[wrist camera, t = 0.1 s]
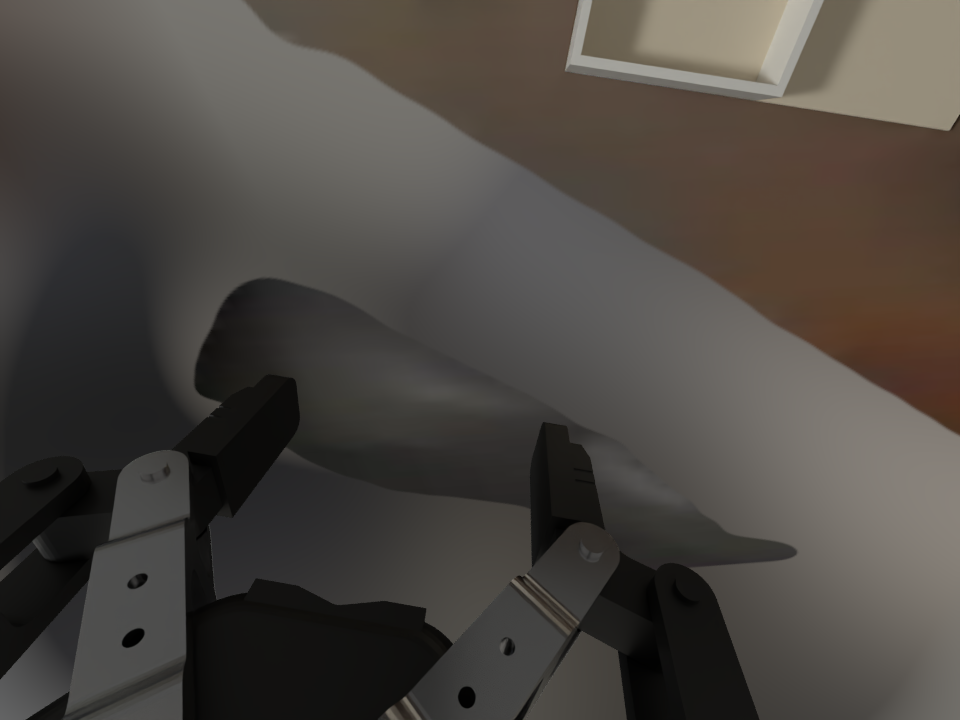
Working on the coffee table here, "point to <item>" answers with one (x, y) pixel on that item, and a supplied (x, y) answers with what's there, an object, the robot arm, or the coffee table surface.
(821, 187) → the coffee table surface
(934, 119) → the box
